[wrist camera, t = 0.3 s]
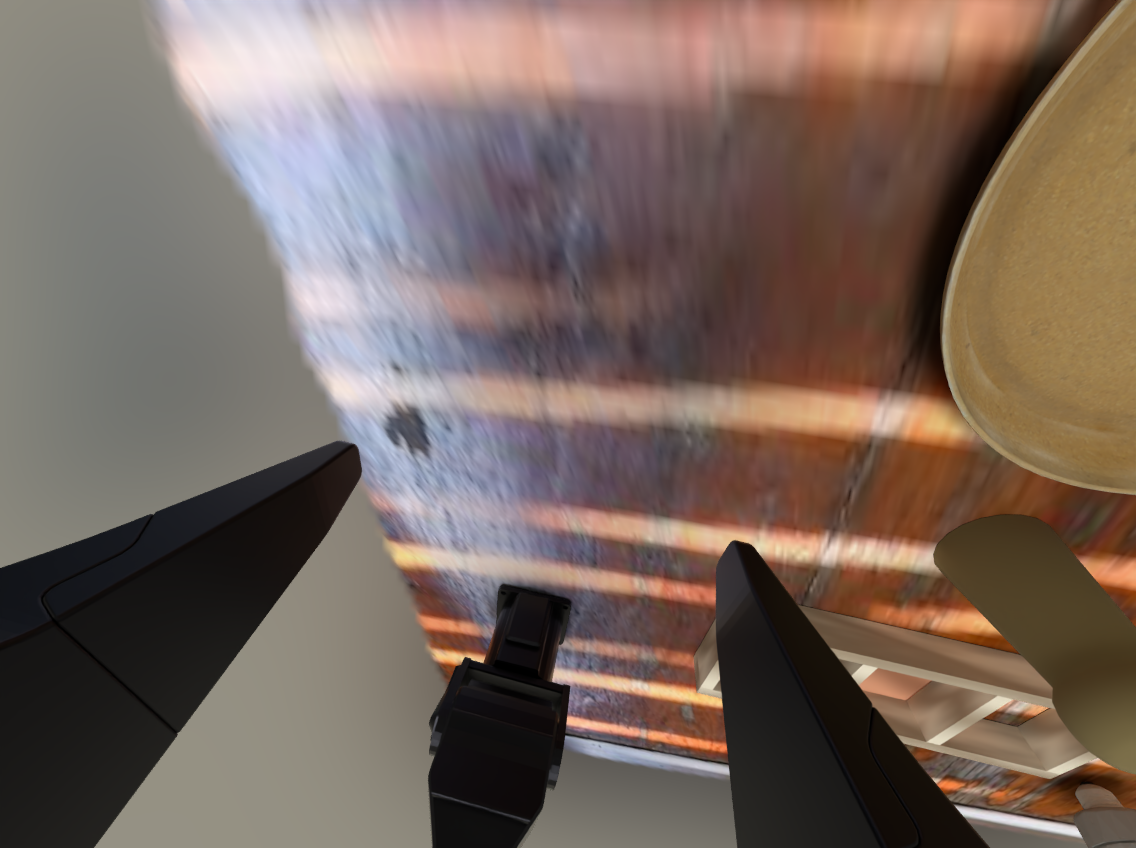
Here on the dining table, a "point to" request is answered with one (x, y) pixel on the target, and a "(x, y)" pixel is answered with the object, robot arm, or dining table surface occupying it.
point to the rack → (938, 693)
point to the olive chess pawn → (1053, 624)
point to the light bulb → (1104, 819)
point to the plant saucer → (1056, 277)
